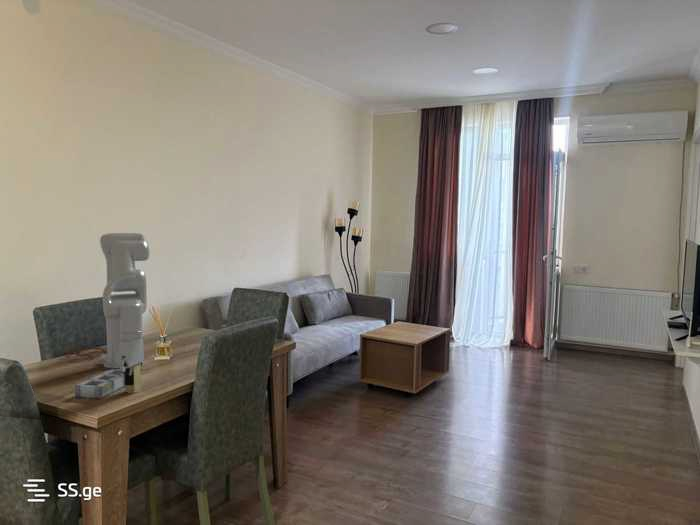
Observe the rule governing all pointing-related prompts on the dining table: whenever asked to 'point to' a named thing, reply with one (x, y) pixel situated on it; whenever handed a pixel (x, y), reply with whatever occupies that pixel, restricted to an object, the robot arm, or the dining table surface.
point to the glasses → (81, 350)
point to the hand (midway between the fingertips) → (132, 382)
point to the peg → (134, 380)
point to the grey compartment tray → (101, 385)
